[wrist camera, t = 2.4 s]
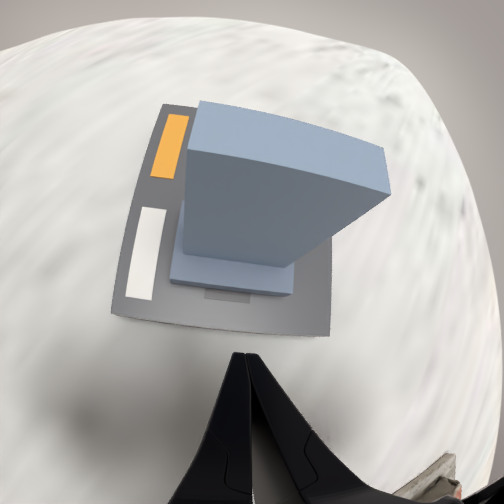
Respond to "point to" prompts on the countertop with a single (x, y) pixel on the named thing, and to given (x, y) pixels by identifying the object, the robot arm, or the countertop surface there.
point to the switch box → (192, 297)
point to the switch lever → (267, 197)
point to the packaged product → (434, 482)
